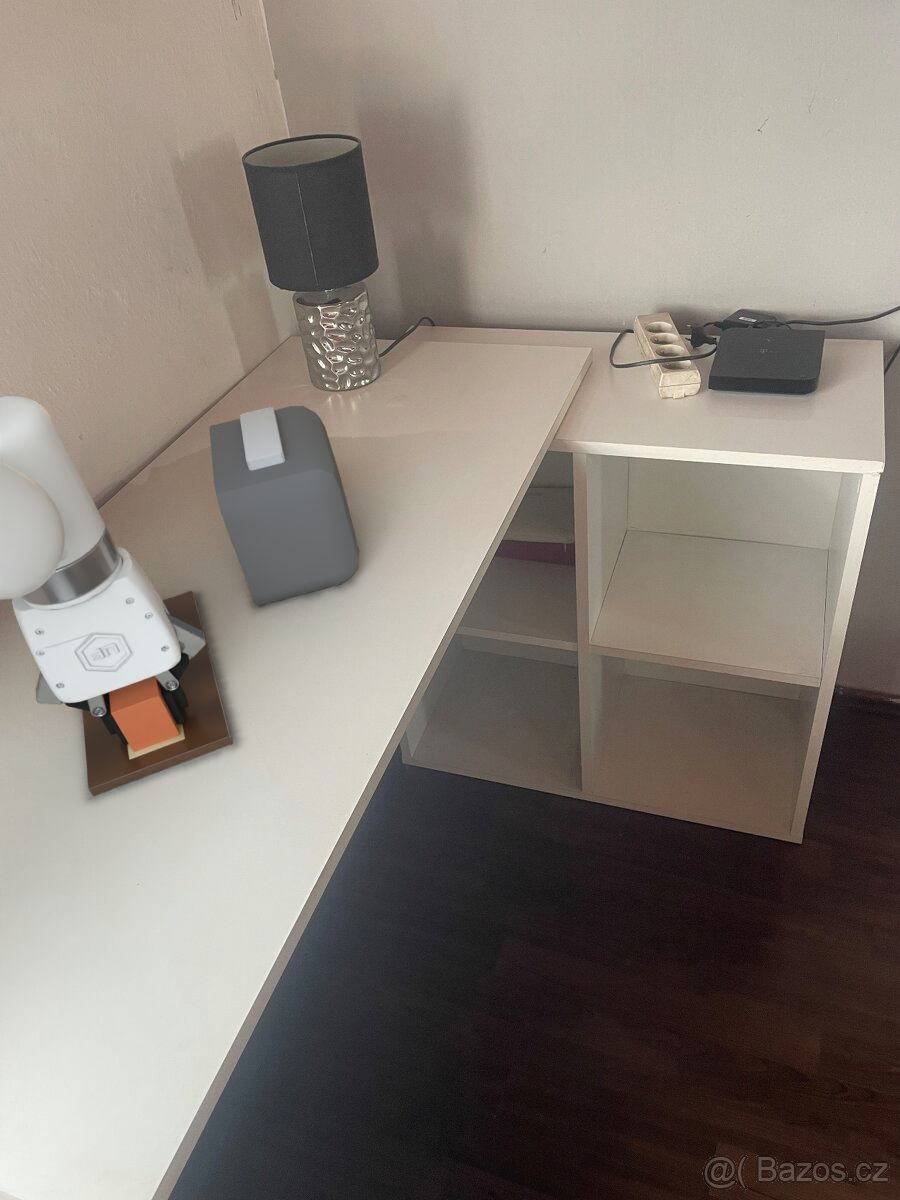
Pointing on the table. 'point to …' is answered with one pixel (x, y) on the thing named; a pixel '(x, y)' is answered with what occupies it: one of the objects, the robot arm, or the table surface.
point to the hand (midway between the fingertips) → (152, 721)
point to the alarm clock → (283, 502)
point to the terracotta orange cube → (142, 714)
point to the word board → (197, 735)
